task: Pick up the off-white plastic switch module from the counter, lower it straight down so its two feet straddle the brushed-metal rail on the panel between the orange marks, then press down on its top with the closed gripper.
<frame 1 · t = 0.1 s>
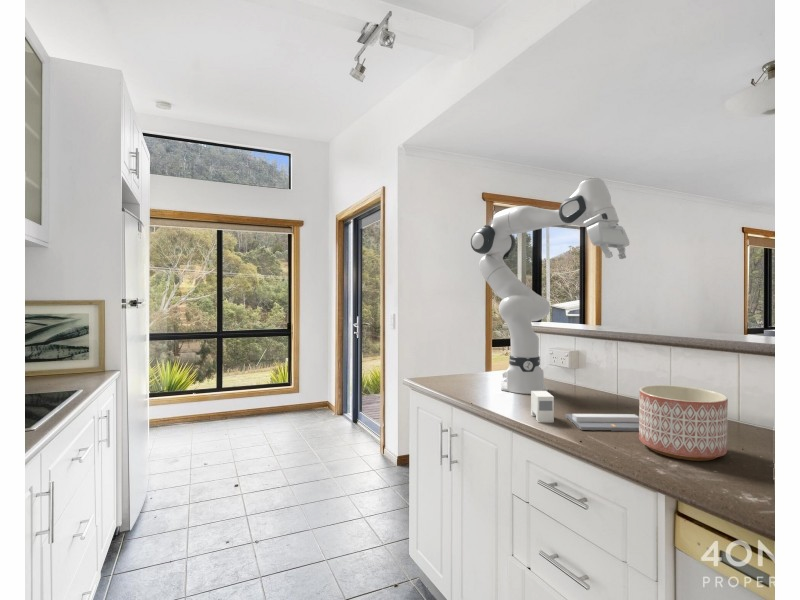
hand: (616, 258, 153), 52 cm above the worktop, tool tilted 20°, fingers open, 8 cm apart
rail panel: (605, 423, 138), on the worktop
planter: (680, 450, 116), on the worktop
switch module: (541, 418, 144), on the worktop
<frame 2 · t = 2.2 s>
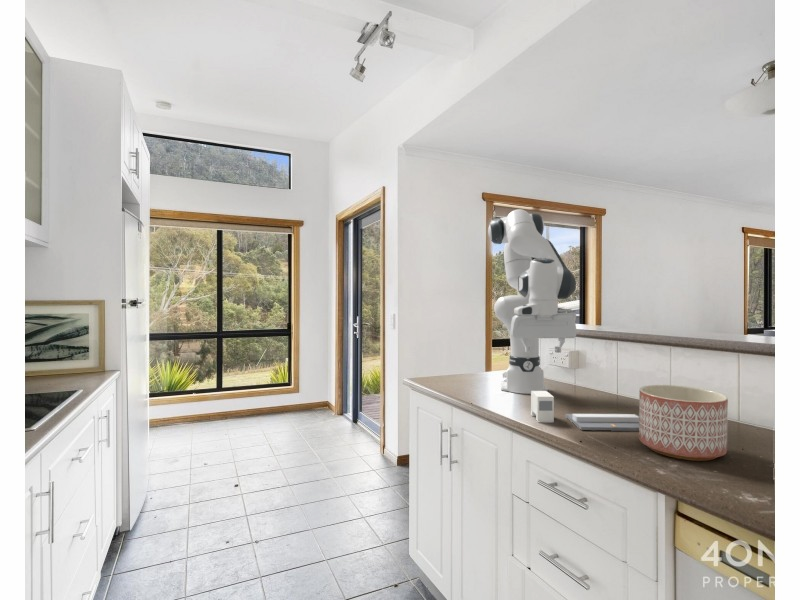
hand: (542, 352, 143), 21 cm above the worktop, tool pointing down, fingers open, 8 cm apart
nothing on the worktop moved.
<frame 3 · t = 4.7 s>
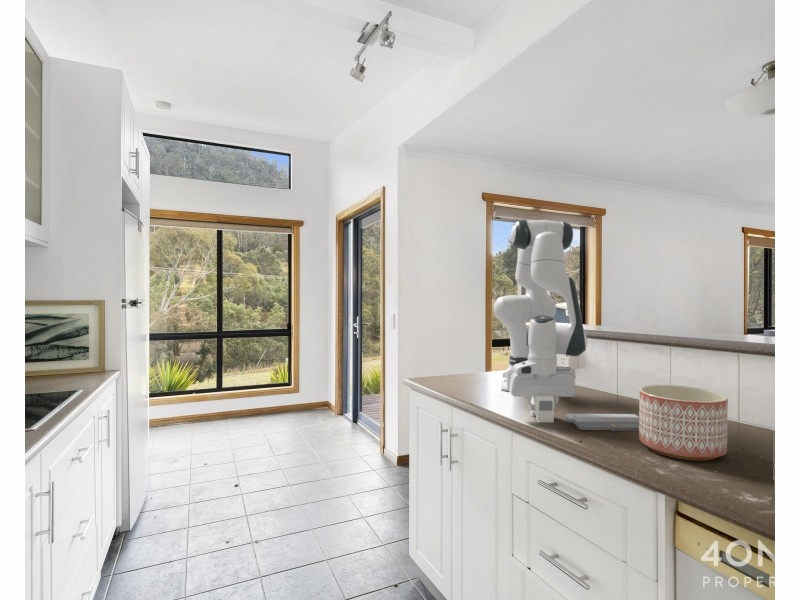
hand: (542, 410, 144), 3 cm above the worktop, tool pointing down, fingers closed on switch module, 5 cm apart
switch module: (542, 418, 144), on the worktop, touching gripper
everything else where it was.
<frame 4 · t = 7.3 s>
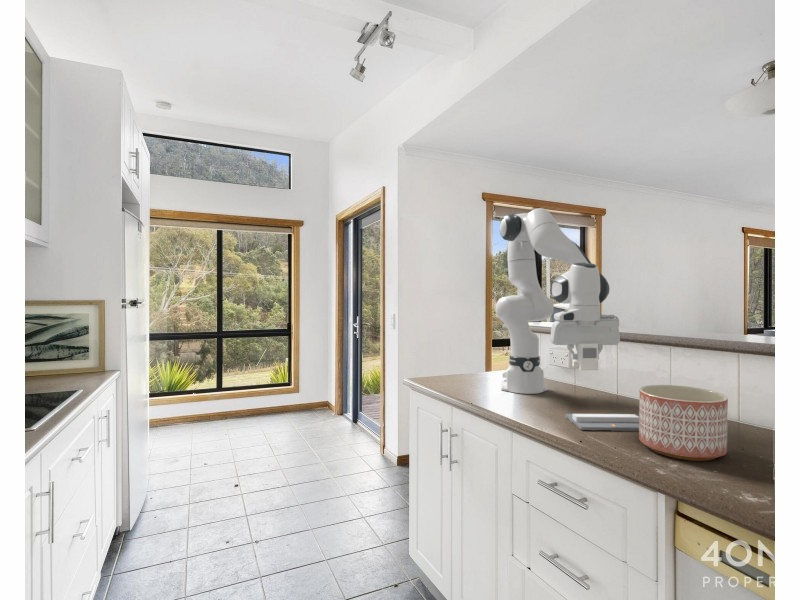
hand: (584, 359, 139), 20 cm above the worktop, tool pointing down, fingers closed on switch module, 5 cm apart
switch module: (584, 368, 139), point 17 cm above the worktop, touching gripper
everything else where it was.
when the fingers open (5 cm above the worktop, at t = 10.2 s): switch module stays where it is, resting on rail panel.
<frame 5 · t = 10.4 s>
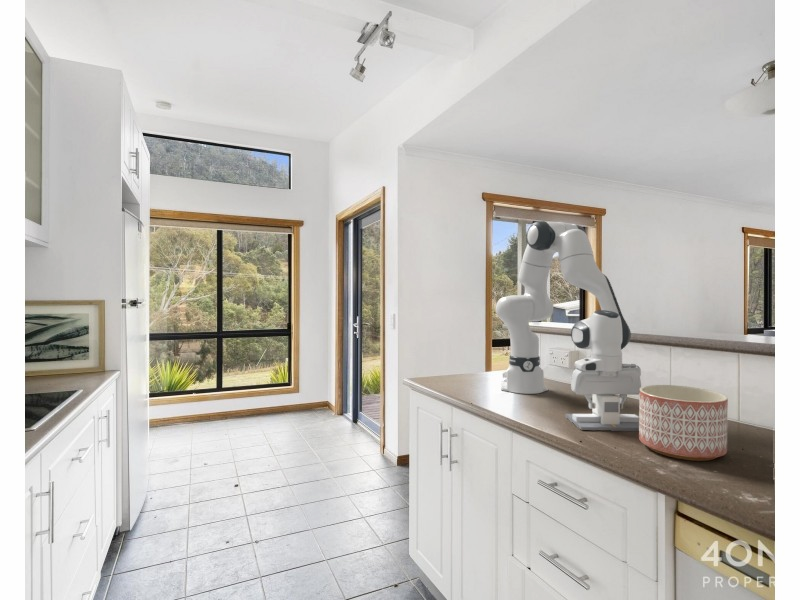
hand: (605, 408, 138), 5 cm above the worktop, tool pointing down, fingers open, 7 cm apart
switch module: (605, 420, 138), point 1 cm above the worktop, touching rail panel
everything else where it was.
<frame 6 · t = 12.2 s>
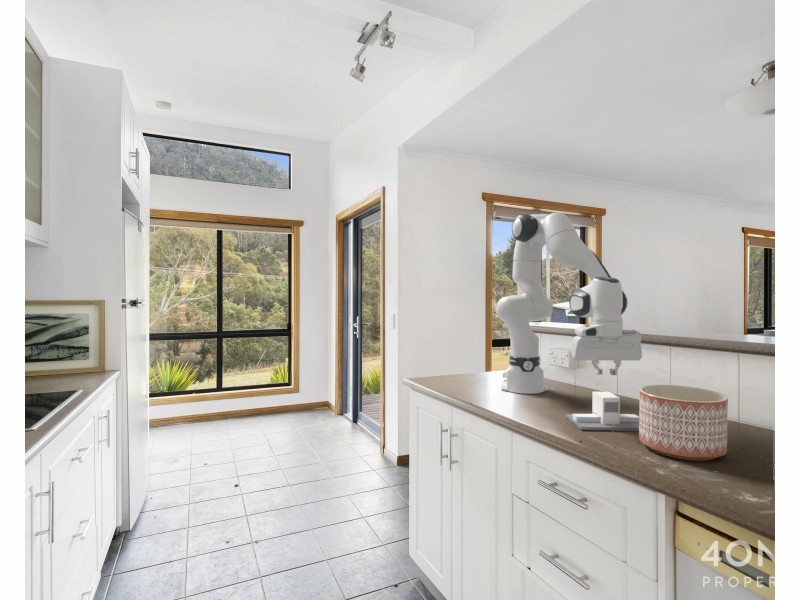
hand: (606, 374, 138), 15 cm above the worktop, tool pointing down, fingers open, 3 cm apart
nothing on the worktop moved.
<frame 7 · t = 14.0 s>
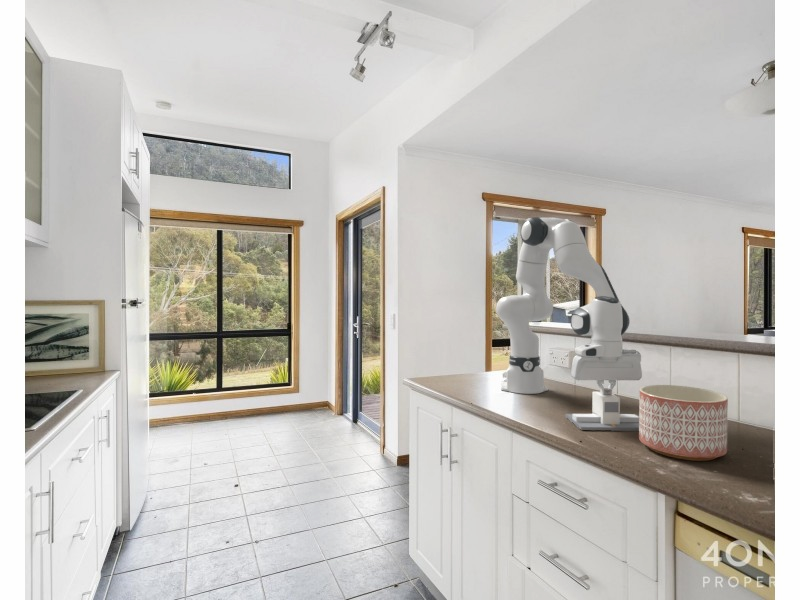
hand: (606, 394, 138), 9 cm above the worktop, tool pointing down, fingers closed, pressing on switch module
switch module: (605, 420, 138), point 1 cm above the worktop, touching gripper, rail panel
everything else where it was.
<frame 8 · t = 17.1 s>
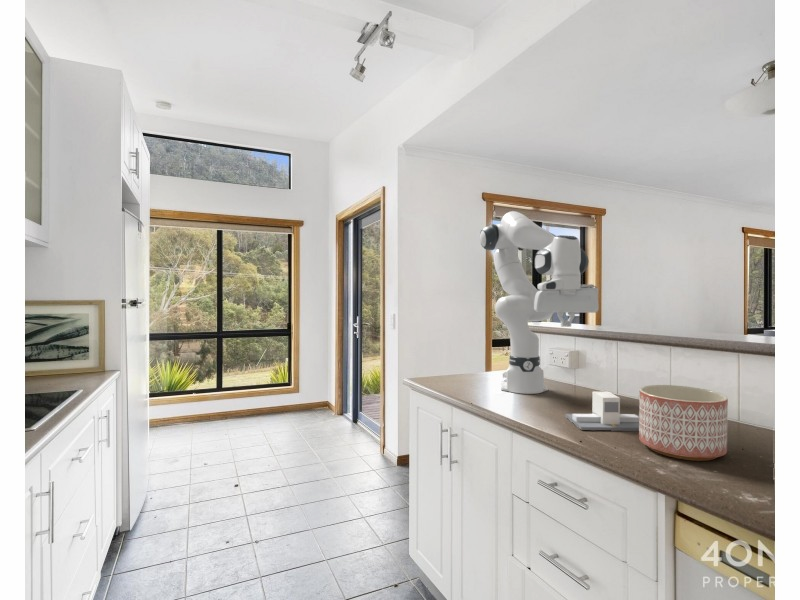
hand: (565, 326, 148), 29 cm above the worktop, tool pointing down, fingers closed
switch module: (605, 420, 138), point 1 cm above the worktop, touching rail panel
everything else where it was.
at the end: switch module 0.0 cm off-centre on the rail panel, point 1.0 cm above the rail panel's base; switch module tilted 0°; the gripper is holding nothing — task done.
